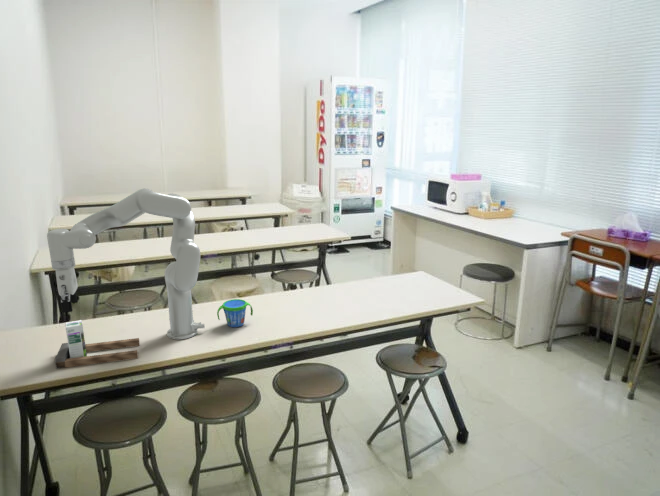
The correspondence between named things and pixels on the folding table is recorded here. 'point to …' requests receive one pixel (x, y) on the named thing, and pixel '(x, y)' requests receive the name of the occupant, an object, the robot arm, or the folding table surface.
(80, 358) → the guide channel
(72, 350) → the syrup box
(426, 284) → the folding table surface
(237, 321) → the snack cup
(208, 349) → the folding table surface
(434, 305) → the folding table surface
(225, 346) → the folding table surface
